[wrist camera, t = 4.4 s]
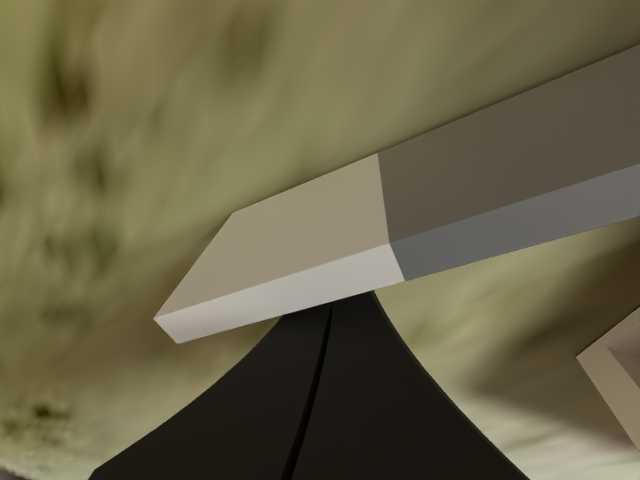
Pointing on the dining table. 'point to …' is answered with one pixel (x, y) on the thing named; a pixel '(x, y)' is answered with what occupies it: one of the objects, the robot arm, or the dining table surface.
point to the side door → (428, 204)
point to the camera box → (618, 372)
